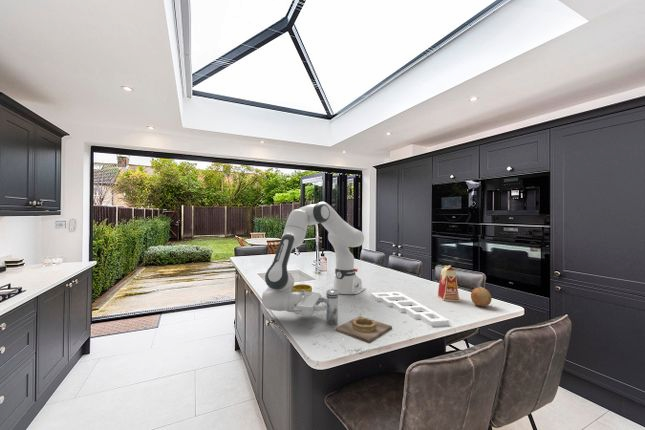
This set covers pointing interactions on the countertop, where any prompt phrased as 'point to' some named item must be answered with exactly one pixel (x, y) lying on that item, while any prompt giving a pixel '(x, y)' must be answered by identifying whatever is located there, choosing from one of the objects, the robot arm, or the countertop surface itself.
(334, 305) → the piston
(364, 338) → the ring stand
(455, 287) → the milk carton
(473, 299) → the onion
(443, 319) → the holder
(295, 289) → the plant pot
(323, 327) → the countertop surface
